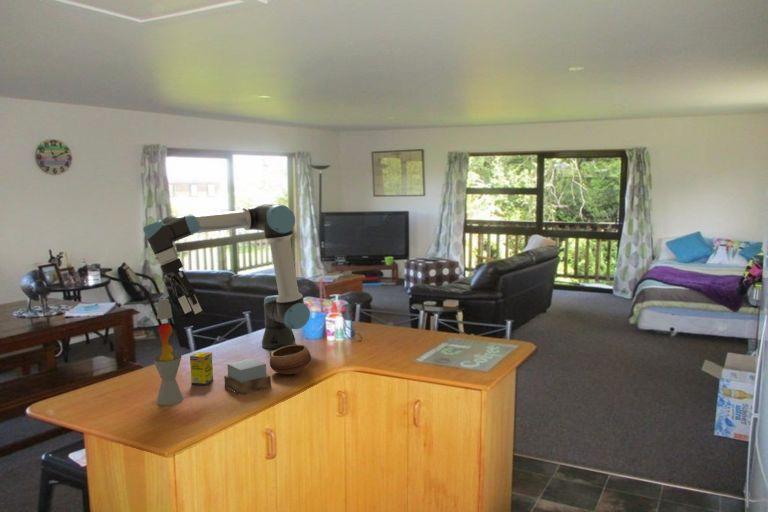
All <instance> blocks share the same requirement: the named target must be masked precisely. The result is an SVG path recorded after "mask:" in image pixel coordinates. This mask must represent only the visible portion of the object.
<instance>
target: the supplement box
mask: <svg viewBox="0 0 768 512" xmlns="http://www.w3.org/2000/svg"><path fill="white" fill-rule="evenodd" d="M189 364H190V365H189V366H190V380H191V381H190V382H191V385H192V386H205V385H206V386H207V385H208V384H210V383H212V382H213V381H214V370H213V369H214V368H213V366H214V365H213V352H210V351H209V352H206V351H198V352H196V353H194V354H191V355H190V356H189Z"/></svg>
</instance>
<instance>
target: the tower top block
mask: <svg viewBox="0 0 768 512" xmlns="http://www.w3.org/2000/svg"><path fill="white" fill-rule="evenodd" d="M226 366H227V375H228V376H229V377H231V378H233V379H235V380H237V381H239V382H245V381H249V380H253V379H257V378H261V377H265V376H267V375H268V374H267V364H266V363H265V362H263V361H260V360H257V359H255V358H253V357H252V358H246V359H243V360H239V361H234V362H230V363H227V365H226ZM266 374H267V375H266Z"/></svg>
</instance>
